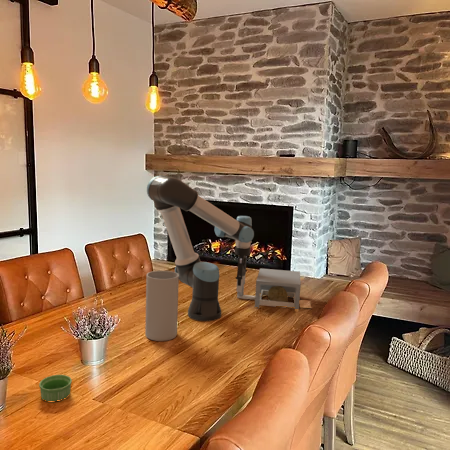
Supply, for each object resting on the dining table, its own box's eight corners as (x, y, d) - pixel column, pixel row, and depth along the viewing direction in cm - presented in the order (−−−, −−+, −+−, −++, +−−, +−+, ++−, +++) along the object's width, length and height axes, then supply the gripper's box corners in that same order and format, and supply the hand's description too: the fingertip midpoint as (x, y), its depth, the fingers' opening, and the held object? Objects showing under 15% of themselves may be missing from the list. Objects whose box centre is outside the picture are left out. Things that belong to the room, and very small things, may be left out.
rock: (276, 312, 223) (287, 297, 219) (260, 297, 228) (271, 282, 224) (285, 309, 231) (296, 294, 227) (269, 294, 236) (280, 280, 232)
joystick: (295, 297, 235) (297, 268, 233) (295, 308, 218) (297, 277, 216) (238, 292, 239) (239, 263, 237) (233, 302, 222) (235, 272, 220)
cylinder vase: (147, 342, 172) (148, 279, 168) (143, 330, 184) (145, 271, 180) (179, 340, 176) (181, 278, 172) (174, 328, 188) (176, 270, 184)
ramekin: (75, 388, 138) (75, 374, 137) (66, 404, 129) (66, 390, 128) (45, 387, 137) (45, 374, 137) (34, 403, 129) (34, 389, 128)
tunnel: (310, 297, 238) (312, 272, 235) (312, 313, 213) (314, 285, 211) (258, 292, 241) (260, 268, 239) (254, 307, 217) (256, 280, 215)
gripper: (247, 252, 214) (245, 295, 217) (252, 242, 238) (250, 281, 241) (232, 251, 215) (230, 294, 218) (238, 241, 239) (236, 280, 242)
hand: (240, 287), depth 230 cm, fingers open, 13 cm apart
